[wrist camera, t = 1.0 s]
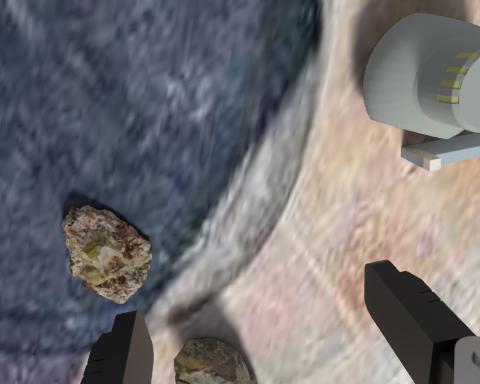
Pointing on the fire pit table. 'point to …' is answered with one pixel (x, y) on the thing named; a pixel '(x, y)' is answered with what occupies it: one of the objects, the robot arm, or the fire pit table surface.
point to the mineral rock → (106, 252)
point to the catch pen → (443, 151)
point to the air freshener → (426, 76)
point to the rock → (210, 364)
